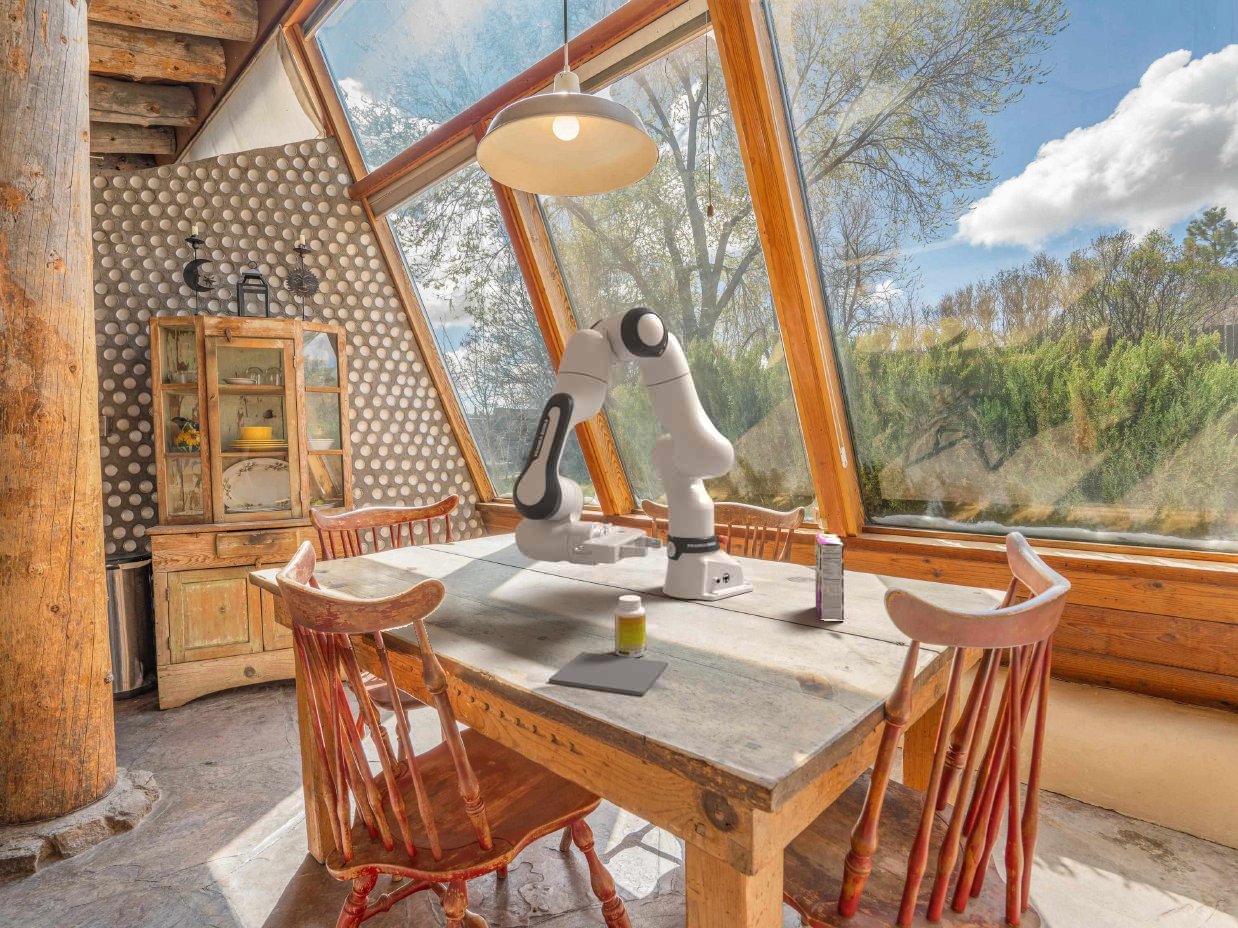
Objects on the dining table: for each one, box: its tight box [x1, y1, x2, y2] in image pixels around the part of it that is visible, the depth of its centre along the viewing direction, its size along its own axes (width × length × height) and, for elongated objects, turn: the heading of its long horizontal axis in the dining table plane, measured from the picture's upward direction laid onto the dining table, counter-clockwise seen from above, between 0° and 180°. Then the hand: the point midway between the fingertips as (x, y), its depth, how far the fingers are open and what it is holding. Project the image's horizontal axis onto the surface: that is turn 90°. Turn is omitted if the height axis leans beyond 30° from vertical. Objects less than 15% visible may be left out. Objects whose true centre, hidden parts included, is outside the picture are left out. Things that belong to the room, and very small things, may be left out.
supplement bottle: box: [613, 594, 647, 658], centre depth 116 cm, size 6×6×10 cm
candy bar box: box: [814, 533, 845, 621], centre depth 138 cm, size 11×5×16 cm, turn 168°
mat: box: [548, 651, 669, 697], centre depth 107 cm, size 13×16×1 cm
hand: (654, 547), depth 127 cm, fingers open, 8 cm apart
